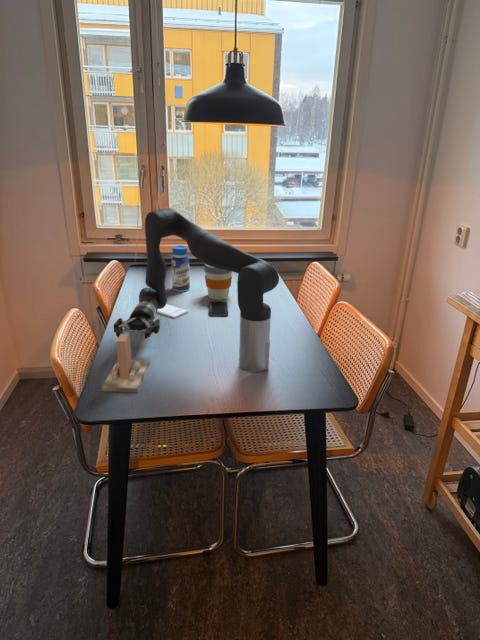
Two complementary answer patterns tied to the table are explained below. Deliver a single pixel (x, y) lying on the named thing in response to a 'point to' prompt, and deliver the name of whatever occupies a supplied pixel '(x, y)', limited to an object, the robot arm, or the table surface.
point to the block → (124, 355)
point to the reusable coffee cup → (217, 282)
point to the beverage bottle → (180, 269)
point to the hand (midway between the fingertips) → (132, 335)
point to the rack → (126, 384)
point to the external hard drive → (171, 311)
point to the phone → (218, 309)
